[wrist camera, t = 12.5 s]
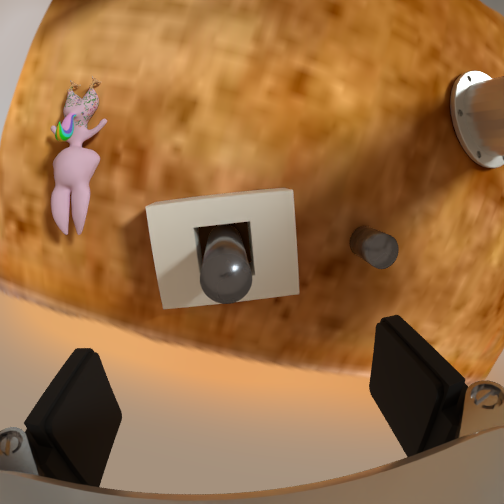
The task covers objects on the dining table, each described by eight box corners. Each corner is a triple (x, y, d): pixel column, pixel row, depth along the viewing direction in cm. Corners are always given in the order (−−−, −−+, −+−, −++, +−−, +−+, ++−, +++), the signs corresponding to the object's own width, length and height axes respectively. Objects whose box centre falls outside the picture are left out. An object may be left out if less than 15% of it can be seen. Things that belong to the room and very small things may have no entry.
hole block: (283, 187, 29) (293, 190, 25) (290, 279, 31) (299, 293, 27) (155, 202, 28) (145, 206, 24) (170, 292, 31) (163, 309, 27)
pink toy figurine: (67, 93, 26) (54, 234, 27) (42, 72, 20) (22, 236, 21) (120, 86, 26) (108, 234, 28) (101, 59, 20) (82, 236, 22)
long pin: (239, 222, 30) (249, 250, 19) (243, 255, 30) (254, 300, 20) (205, 226, 29) (196, 257, 19) (209, 259, 30) (203, 306, 20)
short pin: (377, 224, 31) (398, 232, 26) (377, 254, 32) (397, 266, 27) (349, 227, 31) (368, 236, 26) (349, 258, 31) (368, 271, 27)
